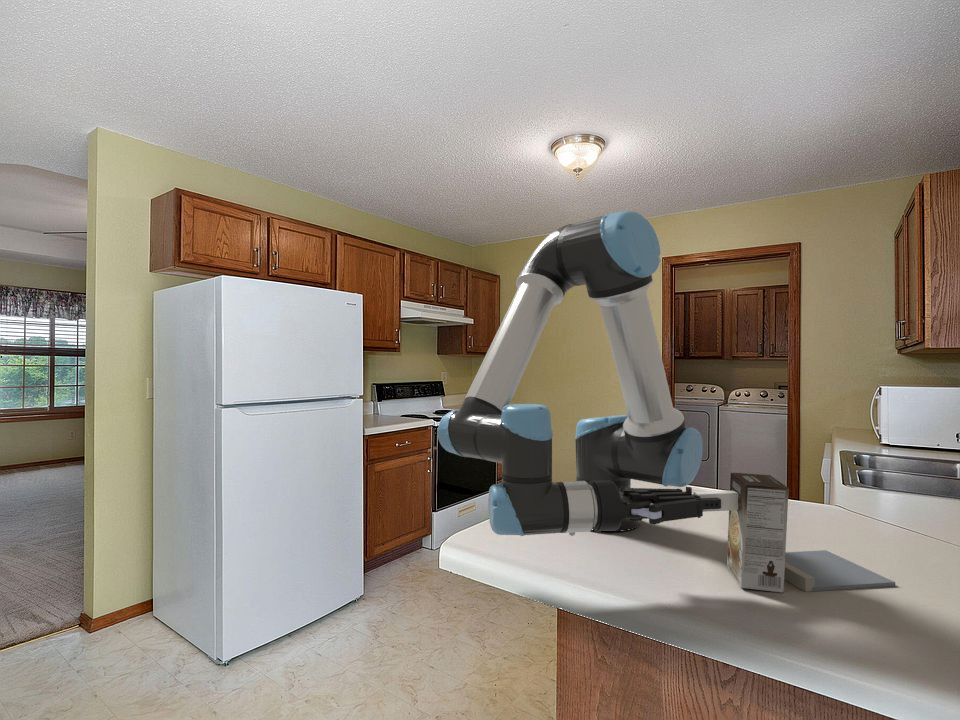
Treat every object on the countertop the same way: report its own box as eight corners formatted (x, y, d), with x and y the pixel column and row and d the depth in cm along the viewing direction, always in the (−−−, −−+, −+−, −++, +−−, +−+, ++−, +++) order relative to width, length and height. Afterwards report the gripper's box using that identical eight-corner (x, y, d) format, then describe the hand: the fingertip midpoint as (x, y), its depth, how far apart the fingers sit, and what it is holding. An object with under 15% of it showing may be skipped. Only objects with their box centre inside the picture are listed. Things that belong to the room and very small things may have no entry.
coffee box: (725, 565, 89) (728, 471, 89) (766, 570, 87) (770, 474, 87) (740, 588, 80) (744, 483, 80) (786, 594, 78) (791, 487, 78)
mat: (748, 557, 93) (748, 546, 93) (825, 553, 95) (825, 542, 95) (805, 591, 79) (805, 578, 79) (895, 586, 81) (895, 573, 81)
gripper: (577, 518, 87) (712, 512, 89) (604, 545, 74) (762, 537, 76) (577, 472, 87) (712, 468, 89) (604, 491, 74) (761, 486, 76)
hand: (735, 500), depth 83 cm, fingers closed
